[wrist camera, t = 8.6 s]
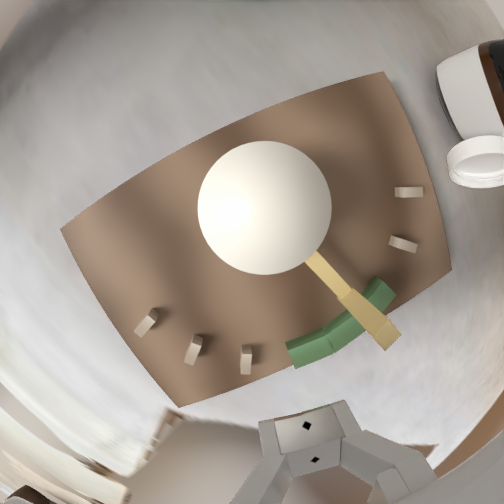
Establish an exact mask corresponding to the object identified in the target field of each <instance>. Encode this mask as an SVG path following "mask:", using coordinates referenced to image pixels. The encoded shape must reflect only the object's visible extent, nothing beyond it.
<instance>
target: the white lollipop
mask: <svg viewBox="0 0 504 504" xmlns="http://www.w3.org/2000/svg"><path fill="white" fill-rule="evenodd" d="M331 212H332V204H331V196H330V191H329V188H328V184H327V182H326V180H325V178H324V176H323V174H322V172H321V171H320V169H319V168H318V167H317V165H316V164H315V163H314V162H313V161H312V160H311V159H310V158H309V157H308V156H307V155H305V154H304V153H302V152H301V151H299V150H298V149H296V148H294V147H292V146H289V145H286V144H283V143H279V142H273V141H256V142H251V143H247V144H243V145H240V146H238V147H236V148H234V149H232V150H230V151H229V152H227V153H226V154H224V155H223V156H222V157H221V158H220V159H219V160H217V161H216V163H215V164H214V165H213V166H212V167H211V169H210V170H209V172H208V173H207V175H206V177H205V179H204V181H203V183H202V186H201V189H200V192H199V198H198V219H199V223H200V228H201V230H202V233H203V236H204V237H205V239H206V241H207V243H208V245H209V246H210V247H211V249H212V250H213V251H214V252H215V253H216V254H217V256H218V257H219V258H221V259H222V260H223V261H224V262H226V263H227V264H229V265H231V266H232V267H234V268H236V269H238V270H241V271H244V272H247V273H252V274H258V275H270V274H277V273H282V272H285V271H288V270H291V269H293V268H295V267H297V266H299V265H300V264H302V263H303V262H305V263H306V264H307V265H308V266H309V267H310V268H311V269H312V270H313V271H314V272H315V273H316V274H317V275H318V276H319V277H320V278H321V279H322V281H323V282H324V283H325V284H326V285H327V286H328V287H329V288H330V289H331V290H332V291H333V292H334V293H335V294H336V295H337V296H338V297H337V299H338V300H339V301H340V302H341V303H342V304H343V305H344V306H345V308H346V309H347V310H348V311H349V312H350V313H351V314H352V315H353V316H354V317H355V319H356V320H357V321H358V322H359V323H360V324H361V325H362V326H363V327H364V329H365V330H366V331H367V332H368V333H369V334H370V335H371V336H372V337H373V339H374V340H375V341H376V342H377V343H378V344H379V345H380V346H381V347H382V348H383V349H384V350H385V351H386V350H387V349H388V348H389V347H390V346H391V345H392V344H393V343H394V342H395V341H396V340H397V339H398V338H399V337H400V336H401V334H400V332H399V331H398V330H397V329H396V327H395V326H394V325H393V324H392V322H391V321H390V320H389V319H388V318H387V317H386V316H385V315H384V314H382V313H381V312H380V311H379V310H378V309H377V308H376V307H375V306H373V305H372V304H371V303H370V302H369V301H368V300H367V299H365V298H364V297H363V296H362V295H361V294H360V293H358V292H357V291H356V290H355V289H354V288H353V287H351V286H350V285H349V286H348V284H347V283H346V282H345V281H344V280H343V279H342V278H341V277H340V276H339V274H338V273H337V272H336V271H335V270H334V269H333V268H332V267H331V266H330V265H329V264H328V262H327V261H326V260H325V259H324V258H323V257H322V256H321V255H320V254H319V253H318V252H317V251H316V250H317V249H318V247H319V246H320V245H321V243H322V242H323V240H324V238H325V236H326V233H327V231H328V228H329V224H330V220H331Z"/></svg>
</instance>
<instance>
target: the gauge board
mask: <svg viewBox="0 0 504 504" xmlns="http://www.w3.org/2000/svg"><path fill="white" fill-rule="evenodd" d="M256 141H273V142H279V143H283V144H286V145H289V146H292V147H294V148H296V149H298V150H299V151H301V152H302V153H304V154H305V155H307V156H308V157H309V158H310V159H311V160H312V161H313V162H314V163H315V164H316V165H317V167H318V168H319V169H320V171H321V172H322V174H323V176H324V178H325V180H326V182H327V184H328V188H329V191H330V196H331V204H332V212H331V220H330V224H329V228H328V231H327V233H326V236H325V238H324V240H323V242H322V243H321V245H320V246H319V247H318V249H317V250H316V251H317V252H318V253H319V254H320V255H321V256H322V257H323V258H324V259H325V260H326V261H327V262H328V264H329V265H330V266H331V267H332V268H333V269H334V270H335V271H336V272H337V273H338V274H339V276H340V277H341V278H342V279H343V280H344V281H345V282H346V283H347V284H348V286H349V285H350V286H351V287H353V288H354V289H355V290H356V291H357V292H358V293H360V294H361V295H362V296H363V297H364V298H365V299H367V300H368V301H369V302H370V303H371V304H372V305H373V306H375V307H376V308H377V309H378V310H379V311H380V312H381V313H382V314H384V315H387V314H388V313H390V312H392V311H393V310H395V309H396V308H398V307H399V306H401V305H403V304H404V303H406V302H407V301H409V300H410V299H412V298H413V297H415V296H416V295H418V294H419V293H421V292H422V291H423V290H425V289H426V288H428V287H429V286H431V285H432V284H433V283H435V282H436V281H438V280H439V279H440V278H442V277H443V276H444V275H446V274H447V273H448V272H450V271H451V270H452V268H451V261H450V256H449V250H448V245H447V240H446V235H445V230H444V226H443V222H442V217H441V213H440V210H439V206H438V202H437V198H436V195H435V192H434V188H433V185H432V182H431V179H430V175H429V172H428V169H427V166H426V164H425V161H424V158H423V155H422V153H421V150H420V147H419V145H418V142H417V140H416V137H415V135H414V132H413V130H412V128H411V125H410V123H409V121H408V118H407V116H406V114H405V112H404V110H403V108H402V106H401V103H400V101H399V99H398V97H397V95H396V93H395V91H394V90H393V88H392V86H391V84H390V82H389V80H388V78H387V77H386V75H385V73H384V71H383V72H379V73H374V74H370V75H366V76H362V77H358V78H355V79H351V80H348V81H344V82H341V83H337V84H334V85H331V86H327V87H324V88H321V89H318V90H315V91H312V92H309V93H306V94H303V95H301V96H298V97H295V98H292V99H289V100H287V101H284V102H282V103H279V104H276V105H274V106H271V107H269V108H266V109H264V110H261V111H259V112H257V113H254V114H252V115H250V116H247V117H245V118H243V119H241V120H238V121H236V122H234V123H232V124H230V125H227V126H225V127H223V128H221V129H219V130H217V131H215V132H213V133H211V134H209V135H207V136H205V137H203V138H201V139H199V140H197V141H195V142H193V143H191V144H189V145H187V146H186V147H184V148H182V149H180V150H178V151H176V152H174V153H173V154H171V155H169V156H167V157H166V158H164V159H162V160H160V161H159V162H157V163H155V164H154V165H152V166H150V167H149V168H147V169H145V170H144V171H142V172H140V173H139V174H137V175H136V176H134V177H132V178H131V179H129V180H128V181H126V182H125V183H123V184H121V185H120V186H118V187H117V188H115V189H114V190H112V191H111V192H110V193H108V194H107V195H105V196H104V197H102V198H101V199H99V200H98V201H97V202H95V203H94V204H92V205H91V206H90V207H88V208H87V209H86V210H84V211H83V212H81V213H80V214H79V215H77V216H76V217H75V218H74V219H72V220H71V221H70V222H68V223H67V224H66V225H65V226H63V227H62V228H61V229H60V230H61V232H62V234H63V237H64V239H65V241H66V243H67V245H68V247H69V249H70V251H71V253H72V255H73V257H74V259H75V261H76V263H77V265H78V266H79V268H80V270H81V272H82V274H83V276H84V277H85V279H86V281H87V283H88V285H89V286H90V288H91V290H92V291H93V293H94V295H95V296H96V298H97V300H98V301H99V303H100V305H101V306H102V308H103V309H104V311H105V313H106V314H107V316H108V317H109V319H110V320H111V322H112V323H113V325H114V326H115V328H116V329H117V331H118V332H119V334H120V335H121V337H122V338H123V339H124V341H125V342H126V344H127V345H128V346H129V348H130V349H131V351H132V352H133V353H134V355H135V356H136V357H137V359H138V360H139V361H140V363H141V364H142V365H143V366H144V368H145V369H146V370H147V371H148V373H149V374H150V375H151V376H152V378H153V379H154V380H155V381H156V383H157V384H158V385H159V386H160V387H161V389H162V390H163V391H164V392H165V393H166V394H167V395H168V397H169V398H170V399H171V400H172V401H173V402H174V403H175V405H176V406H177V407H178V408H180V407H183V406H186V405H190V404H193V403H196V402H199V401H202V400H205V399H208V398H211V397H214V396H217V395H220V394H222V393H225V392H228V391H231V390H233V389H236V388H239V387H241V386H244V385H246V384H249V383H251V382H254V381H256V380H259V379H261V378H264V377H266V376H268V375H271V374H273V373H275V372H278V371H280V370H282V369H285V368H287V367H289V366H291V365H293V364H294V367H295V369H297V368H299V367H302V366H305V365H307V364H310V363H312V362H314V361H317V360H319V359H322V358H324V357H326V356H329V355H331V354H333V353H336V352H337V351H338V350H340V349H341V348H343V347H344V346H345V345H347V344H348V343H350V342H351V341H352V340H354V339H355V338H356V337H358V336H359V335H360V334H362V333H363V332H364V331H366V330H365V329H364V327H363V326H362V325H361V324H360V323H359V322H358V321H357V320H356V319H355V317H354V316H353V315H352V314H351V313H350V312H349V311H348V310H347V309H346V308H345V306H344V305H343V304H342V303H341V302H340V301H339V300H338V299H337V297H338V296H337V295H336V294H335V293H334V292H333V291H332V290H331V289H330V288H329V287H328V286H327V285H326V284H325V283H324V282H323V281H322V279H321V278H320V277H319V276H318V275H317V274H316V273H315V272H314V271H313V270H312V269H311V268H310V267H309V266H308V265H307V264H306V263H305V262H303V263H302V264H300V265H299V266H297V267H295V268H293V269H291V270H288V271H285V272H282V273H277V274H270V275H258V274H252V273H247V272H244V271H241V270H238V269H236V268H234V267H232V266H231V265H229V264H227V263H226V262H224V261H223V260H222V259H221V258H219V257H218V256H217V254H216V253H215V252H214V251H213V250H212V249H211V247H210V246H209V245H208V243H207V241H206V239H205V237H204V236H203V233H202V230H201V228H200V223H199V219H198V198H199V192H200V189H201V186H202V183H203V181H204V179H205V177H206V175H207V173H208V172H209V170H210V169H211V167H212V166H213V165H214V164H215V163H216V161H217V160H219V159H220V158H221V157H222V156H223V155H224V154H226V153H227V152H229V151H230V150H232V149H234V148H236V147H238V146H240V145H243V144H247V143H251V142H256Z"/></svg>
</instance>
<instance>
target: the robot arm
mask: <svg viewBox="0 0 504 504" xmlns="http://www.w3.org/2000/svg"><path fill="white" fill-rule="evenodd" d="M258 426H259V433H260V439H261V446H262V451H263V458H262V459H259V460H258V462H257V463H256V465H255V466H254V468H253V470H252V471H251V473H250V475H249V476H248V477H247V479H246V480H245V482H244V483H243V485H242V486H241V488H240V489H239V491H238V492H237V494H236V495H235V497H234V498H233V500H232V501H231V502H230V504H281V502H282V500H283V498H284V496H285V494H286V492H287V490H288V487H289V485H290V483H291V481H292V478H293V477H297V476H301V475H305V474H308V473H312V472H315V471H319V470H322V469H327V468H330V467H334V466H337V465H340V466H341V467H343V468H344V469H346V470H347V471H349V472H350V473H352V474H354V475H355V476H357V477H358V478H360V479H362V480H363V481H365V482H367V483H368V484H370V485H372V486H373V489H372V491H371V494H370V496H369V499H368V501H367V504H504V429H503V430H502V431H501V432H500V433H499V434H498V435H497V436H496V437H494V438H493V439H492V440H491V441H490V442H488V443H487V444H486V445H485V446H484V447H482V448H481V449H480V450H479V451H477V452H476V453H475V454H473V455H472V456H471V457H470V458H468V459H467V460H466V461H464V462H463V463H461V464H460V465H459V466H457V467H455V468H454V469H453V470H451V471H450V472H448V473H447V474H445V475H443V476H442V477H440V478H438V477H437V476H436V474H435V473H434V471H433V470H432V468H431V467H430V465H429V464H428V462H427V461H426V459H425V458H424V456H423V455H422V453H421V452H419V451H416V450H413V449H410V448H408V447H406V446H403V445H401V444H398V443H396V442H393V441H391V440H388V439H386V438H384V437H381V436H379V435H377V434H374V433H372V432H370V431H368V430H364V431H362V430H361V428H360V427H359V425H358V423H357V421H356V419H355V417H354V415H353V414H352V412H351V410H350V408H349V406H348V404H347V403H346V401H345V400H341V401H338V402H335V403H332V404H328V405H324V406H321V407H318V408H314V409H311V410H308V411H304V412H302V413H298V414H293V415H289V416H284V417H279V418H274V420H273V419H269V420H264V421H259V423H258ZM0 504H33V503H31V502H29V501H27V500H25V499H23V498H20V497H16V496H14V497H11V498H9V499H7V500H5V501H3V502H2V503H0Z"/></svg>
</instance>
